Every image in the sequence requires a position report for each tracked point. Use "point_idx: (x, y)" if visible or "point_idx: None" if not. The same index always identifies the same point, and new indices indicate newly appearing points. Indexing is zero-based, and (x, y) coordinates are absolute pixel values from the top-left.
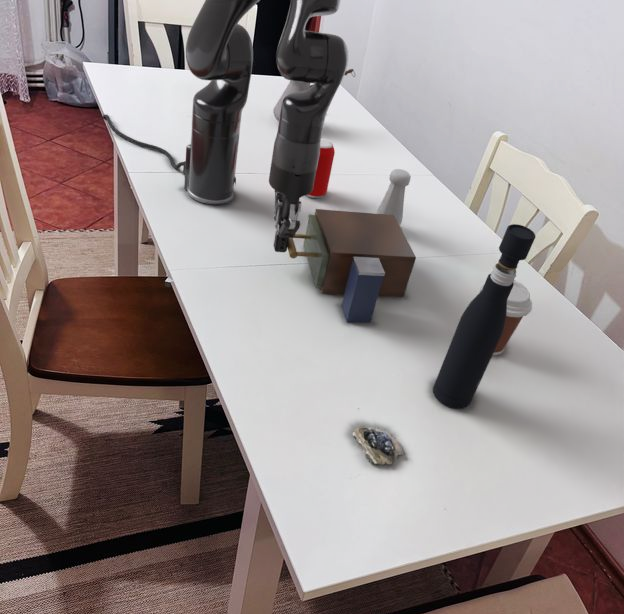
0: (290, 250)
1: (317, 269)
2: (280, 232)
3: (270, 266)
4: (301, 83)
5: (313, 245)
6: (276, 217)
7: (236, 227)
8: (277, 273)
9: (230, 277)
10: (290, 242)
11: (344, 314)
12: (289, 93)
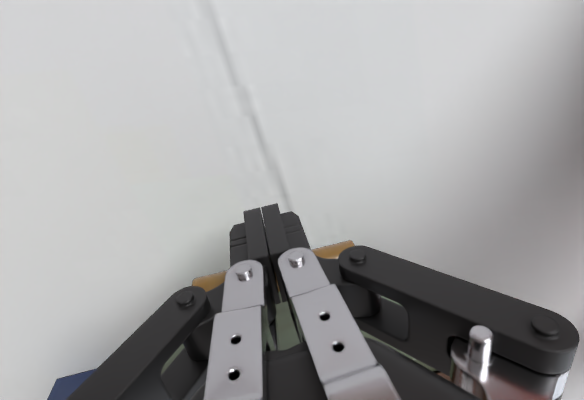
0: (210, 288)
1: (182, 347)
2: (155, 324)
3: (263, 165)
4: None
5: (291, 344)
6: (251, 322)
7: (507, 9)
8: (227, 191)
9: (127, 18)
10: None
11: (82, 375)
12: None
